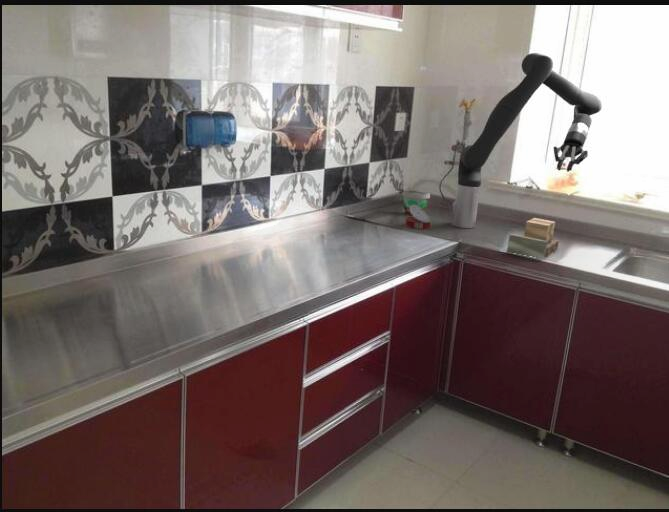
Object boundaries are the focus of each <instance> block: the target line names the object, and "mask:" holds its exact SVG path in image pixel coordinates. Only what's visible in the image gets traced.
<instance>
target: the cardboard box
mask: <svg viewBox="0 0 669 512" xmlns="http://www.w3.org/2000/svg"><path fill="white" fill-rule="evenodd" d="M555 227H556V221H553V220H549V219H543V218H537V217H533V218H531V219H529V220H527V221H525V228H524V229H525V230H524V233H523V234H524V236H525V237H530V238H535V239H540V240H545V241H547V243H548V242H550V241H553V237H554V231H555Z"/></svg>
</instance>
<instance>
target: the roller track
mask: <svg viewBox="0 0 669 512" xmlns="http://www.w3.org/2000/svg"><path fill="white" fill-rule="evenodd" d="M524 234H525V233H523V234H522V235H519V234H514V233H510V234H509V237H508V242H507V248H506V249H507V250H506V252H507V253H509V252H510V254H513V253H516V254H515V255H518V254H521V255H520V256H523V255H526V256H525V257H527V256H532V257H536V258H541V259H543V260H544V258H545V257H546V256H547V257H549V256H550V255H551V253H552V252H553V253H554V252H556V251H557V250H558V248H559V243H560V240H559V239H554V240H551V241H550V242H548V243H547V241H545V240H540V239H535V238H530V237H525V236H524ZM555 250H556V251H555ZM553 253H552V254H553ZM549 254H550V255H549ZM548 255H549V256H548ZM532 257H531V258H532ZM547 257H546V258H547ZM536 258H535V259H536ZM546 258H545V259H546ZM541 259H540V260H541Z"/></svg>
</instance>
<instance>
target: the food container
mask: <svg viewBox="0 0 669 512" xmlns="http://www.w3.org/2000/svg"><path fill="white" fill-rule="evenodd" d="M401 194H402V196H403V214H404V213H405V215H407V214H408V215H407V216H412V214H411V213H410V207H411V205H413V204H415V205H418V206H420V207H421V208H422V210H424V211H425V212H426V211H427V206H428V202H429V199H430V198H431V194H430V192H428V193H421V192H417V191H415V192H409V191H407V190H403V191H402V193H401Z"/></svg>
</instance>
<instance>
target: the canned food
mask: <svg viewBox="0 0 669 512" xmlns="http://www.w3.org/2000/svg"><path fill="white" fill-rule="evenodd" d="M410 213H411V214H412V215H413V216H412V215H411V216H407V217H406V218H405V219H406V220H405V227H407V228H409V227H410V229H413V228H414V230H428V228H429V229H430V228H431V217H430V216H429V215H428V213H426V211H424V210H422V208H421V207H420V206H418V205H415V204H413V205H411V207H410Z"/></svg>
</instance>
